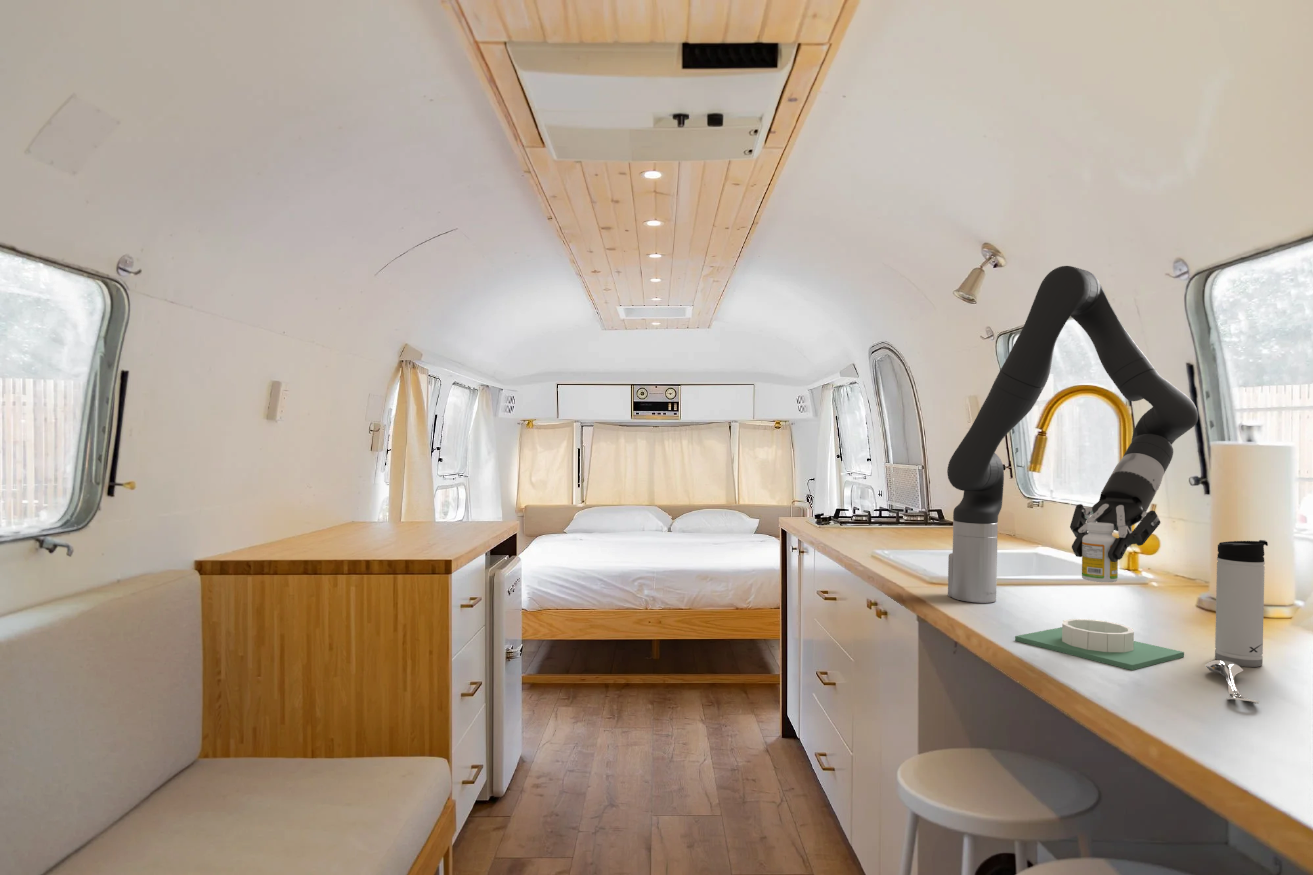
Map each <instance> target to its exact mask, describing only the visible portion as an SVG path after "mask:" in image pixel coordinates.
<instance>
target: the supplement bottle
mask: <svg viewBox="0 0 1313 875" xmlns="http://www.w3.org/2000/svg"><path fill="white" fill-rule="evenodd" d="M1114 531H1115V530H1114V524H1110V523H1099V522H1089V523H1087V533H1088V535H1085V536H1084V537H1083V538H1082V557H1081V578H1082V579H1083V580H1085V581H1090V582H1094V583H1095V582H1096V583H1116V582H1117V581H1118V578H1119V577H1118V575H1119V574H1118V573H1119V571H1118V569H1119V567H1118V566H1119V560H1118V561H1117V562H1111V560H1110V558H1109V557H1108V552H1109V550H1110V548H1111V546H1112V544H1113V543H1114V541H1115V539H1116V538H1117V537H1115V536H1114V535H1113V533H1114Z"/></svg>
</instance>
